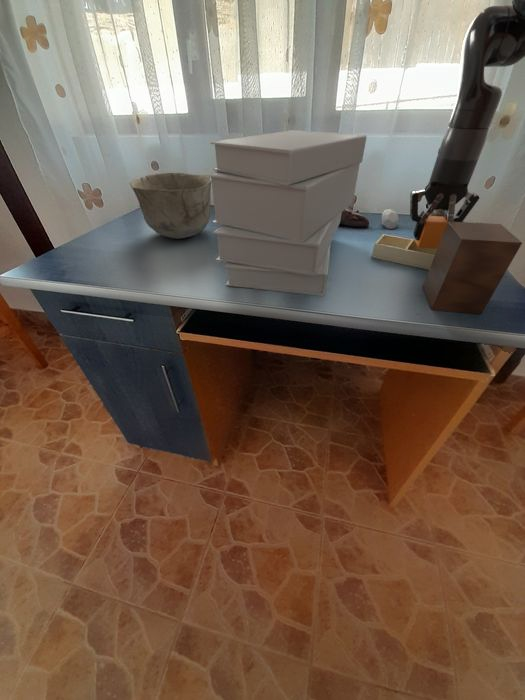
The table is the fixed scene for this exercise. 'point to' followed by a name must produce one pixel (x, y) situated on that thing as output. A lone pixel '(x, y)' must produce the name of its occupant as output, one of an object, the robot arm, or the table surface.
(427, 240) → the orange rectangular block
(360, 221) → the brown shoe
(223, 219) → the book stack
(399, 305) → the table surface
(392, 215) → the gemstone
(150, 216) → the bowl
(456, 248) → the stand
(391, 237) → the divided box
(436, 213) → the grey mottled figurine
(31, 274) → the table surface
